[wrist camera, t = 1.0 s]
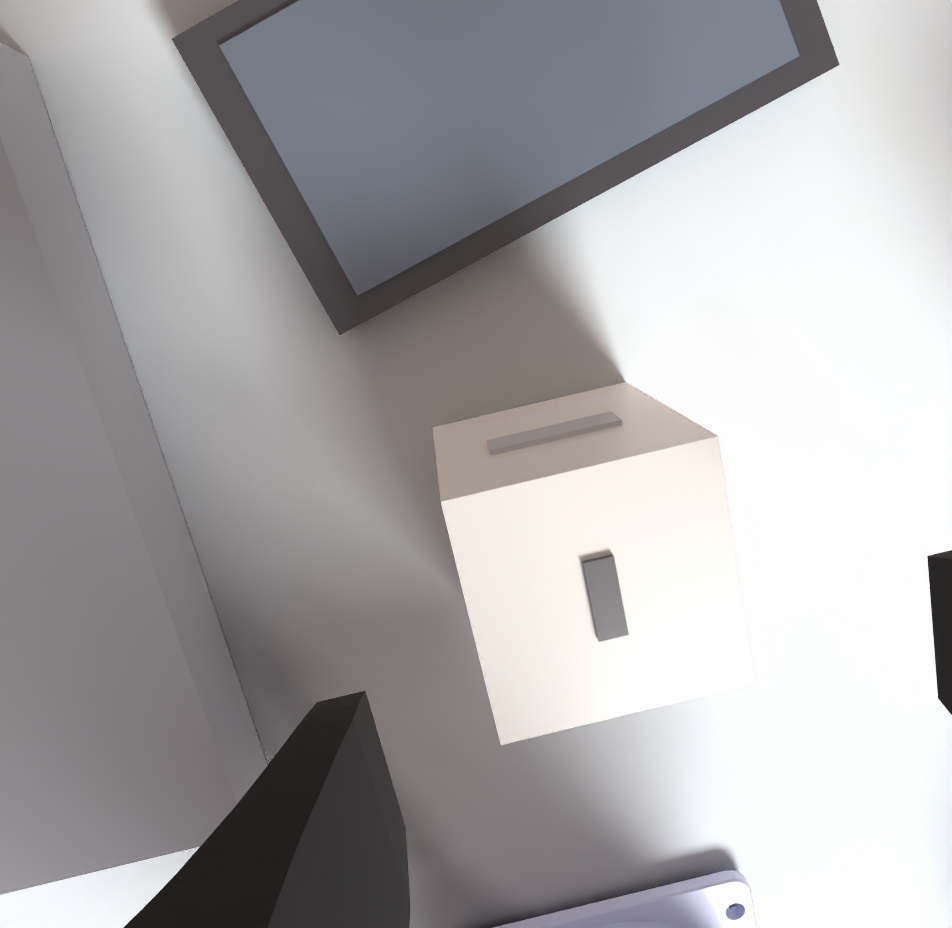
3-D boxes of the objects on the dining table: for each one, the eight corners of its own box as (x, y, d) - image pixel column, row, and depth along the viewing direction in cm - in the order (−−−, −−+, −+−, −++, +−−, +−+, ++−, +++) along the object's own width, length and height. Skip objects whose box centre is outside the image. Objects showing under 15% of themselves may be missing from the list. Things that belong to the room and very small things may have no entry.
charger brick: (656, 561, 19) (757, 686, 13) (475, 605, 19) (501, 748, 13) (624, 377, 18) (719, 431, 12) (431, 422, 18) (439, 497, 12)
